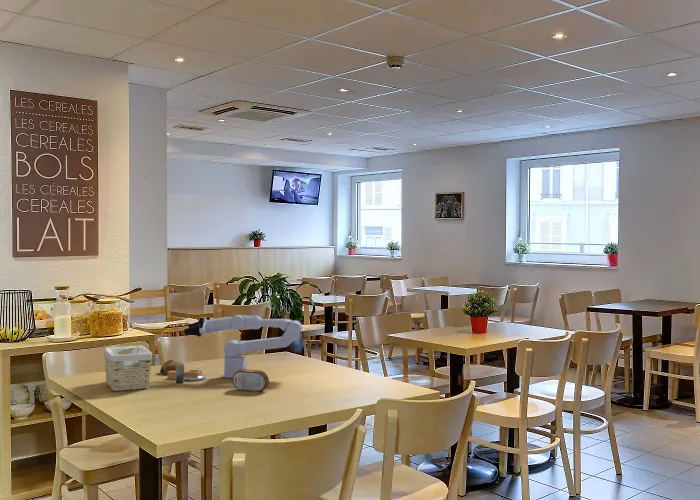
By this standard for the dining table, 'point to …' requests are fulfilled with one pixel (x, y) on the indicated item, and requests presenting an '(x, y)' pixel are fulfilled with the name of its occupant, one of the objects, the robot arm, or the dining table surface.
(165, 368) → the bread roll
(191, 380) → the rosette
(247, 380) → the tin
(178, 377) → the pin
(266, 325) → the robot arm
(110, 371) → the storage basket
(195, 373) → the bracket
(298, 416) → the dining table surface
